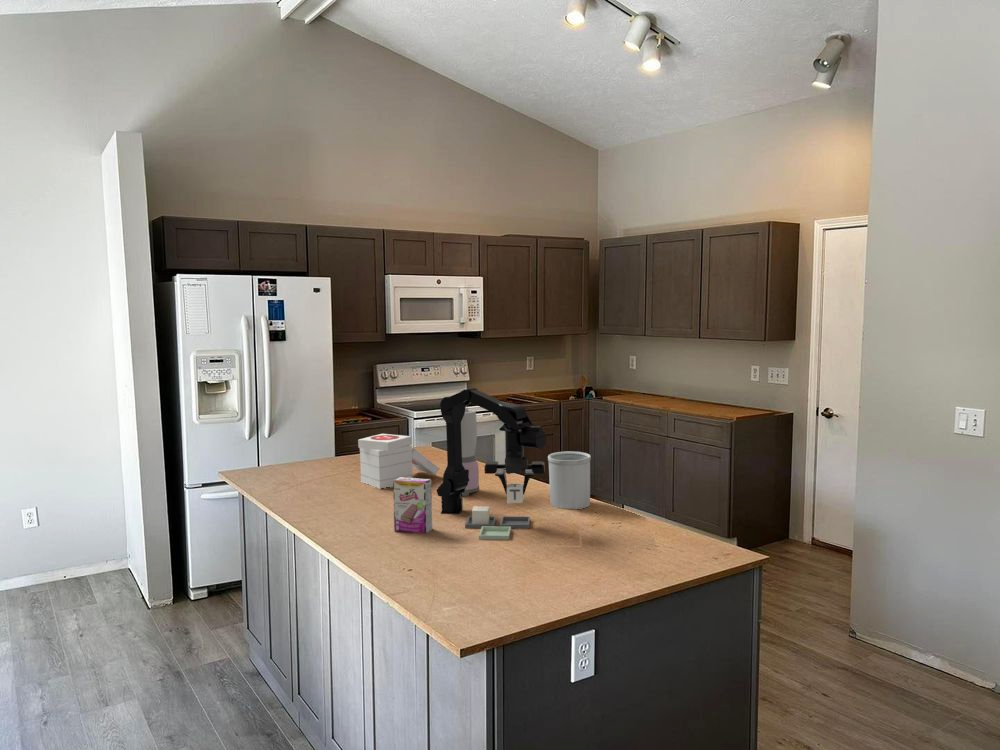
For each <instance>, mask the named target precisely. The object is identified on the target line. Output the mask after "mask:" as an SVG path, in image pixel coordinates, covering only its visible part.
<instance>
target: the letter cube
mask: <svg viewBox="0 0 1000 750" xmlns="http://www.w3.org/2000/svg"><path fill="white" fill-rule="evenodd" d="M523 485H524V483H507V495H506V504H523V503H524V498H525V497H524V495H525V494H524V495H523Z"/></svg>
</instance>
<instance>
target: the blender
mask: <svg viewBox="0 0 1000 750" xmlns="http://www.w3.org/2000/svg"><path fill="white" fill-rule="evenodd" d="M477 425H478V423H477V412H476V410H473V409H469V407H468V406H466V407H465V414H464V416H463V419H462V421H461V442H462V465H463V466H464V468H465V469H468V470H469V480H470V481H468V485H467V486H466V488H465V492H464V493H461V496H462V497H469V493H470V494H471V493H475V492H478V491H479V490H480V483H479V482H480V475H479V474H480V472H479V471H480V468H479V463H478V460H477V459H476V455H475V454H476V448H477V440H478V426H477ZM446 467H447V465H446V466H445V468H446Z"/></svg>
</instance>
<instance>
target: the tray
mask: <svg viewBox="0 0 1000 750" xmlns="http://www.w3.org/2000/svg"><path fill="white" fill-rule="evenodd" d="M511 532H512V529H511V527H500V526H496V525H495V526H482V528H480V531H479V534H478V540H483V541H484V540H491V541H492V540H493V541H496V540H501V541H502V540H503V541H508V540H509V541H510V536H511Z"/></svg>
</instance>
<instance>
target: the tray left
mask: <svg viewBox="0 0 1000 750" xmlns="http://www.w3.org/2000/svg"><path fill="white" fill-rule="evenodd" d="M496 522H497V516H496V515H494V516H493V515H491V516H490V515H489V524H472V515H468V517H467V519H466V521H465V523H464V528H465V529H481V528H482V526H496Z"/></svg>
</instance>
